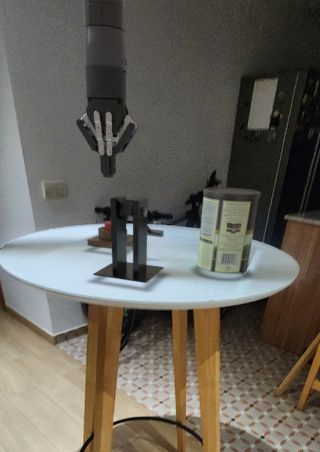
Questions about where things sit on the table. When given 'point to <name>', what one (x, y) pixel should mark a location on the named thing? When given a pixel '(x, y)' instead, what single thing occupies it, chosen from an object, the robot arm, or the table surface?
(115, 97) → the robot arm
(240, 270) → the coffee can
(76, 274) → the table surface
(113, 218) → the bracket
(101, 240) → the block
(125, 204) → the lever
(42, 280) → the table surface
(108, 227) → the button
